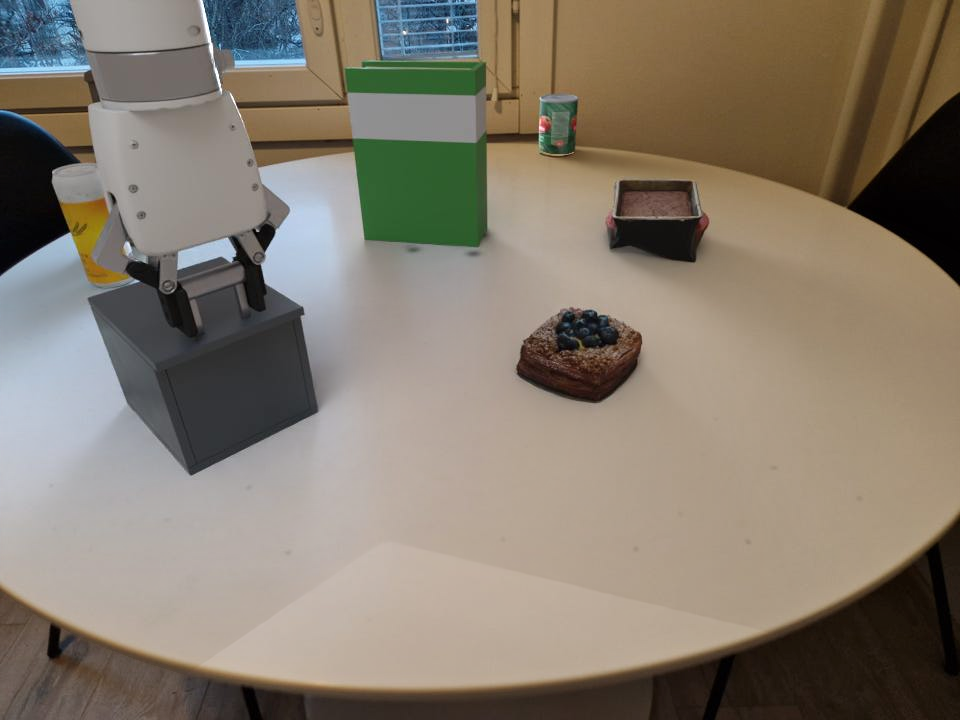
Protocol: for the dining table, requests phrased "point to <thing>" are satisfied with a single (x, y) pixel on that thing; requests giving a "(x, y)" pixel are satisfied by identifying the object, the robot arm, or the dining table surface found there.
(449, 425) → the dining table surface
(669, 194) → the baking dish
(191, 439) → the black box
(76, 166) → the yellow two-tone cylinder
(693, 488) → the dining table surface
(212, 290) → the box lid
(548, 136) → the canned tomato
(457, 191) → the green cereal box
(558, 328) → the pastry
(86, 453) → the dining table surface
